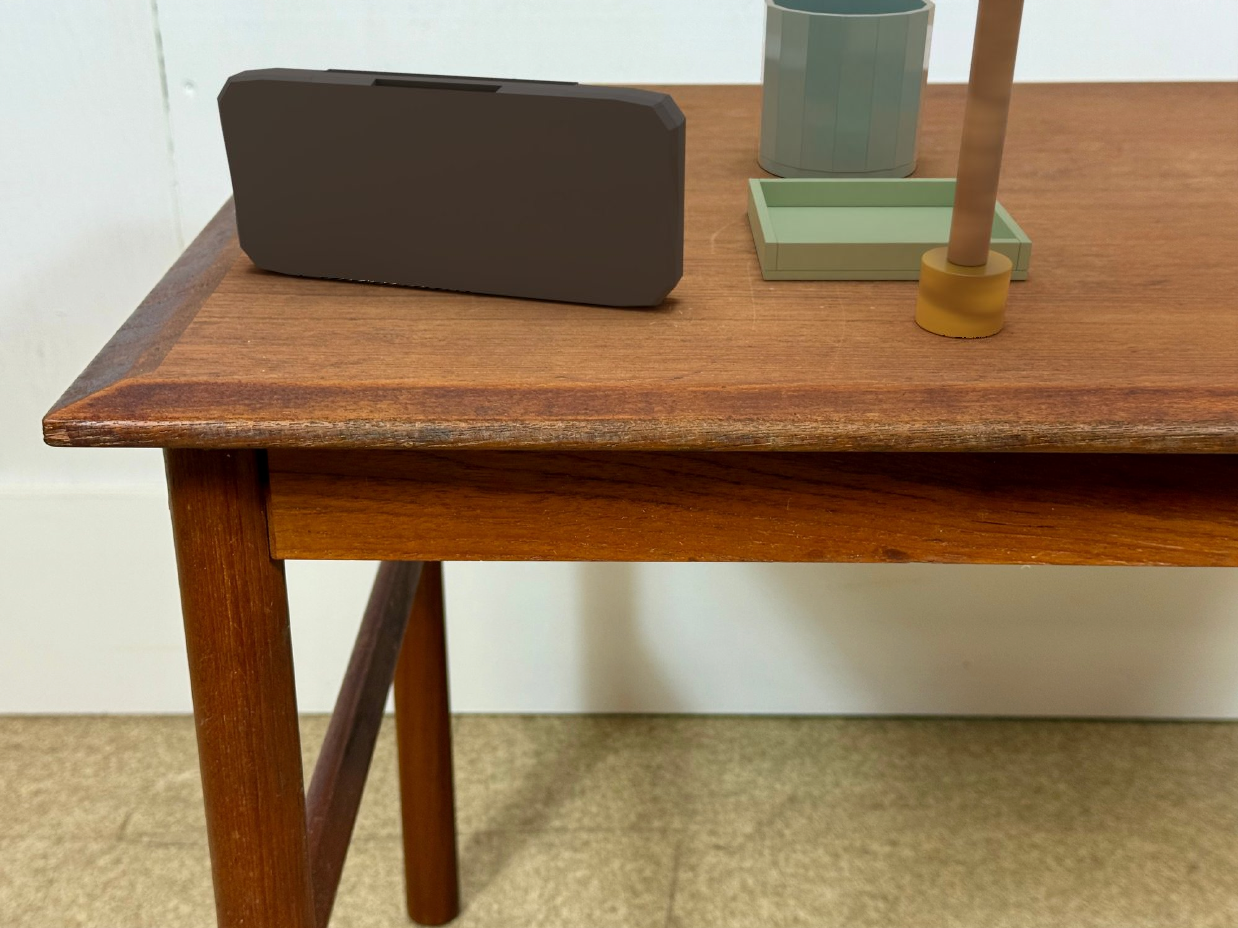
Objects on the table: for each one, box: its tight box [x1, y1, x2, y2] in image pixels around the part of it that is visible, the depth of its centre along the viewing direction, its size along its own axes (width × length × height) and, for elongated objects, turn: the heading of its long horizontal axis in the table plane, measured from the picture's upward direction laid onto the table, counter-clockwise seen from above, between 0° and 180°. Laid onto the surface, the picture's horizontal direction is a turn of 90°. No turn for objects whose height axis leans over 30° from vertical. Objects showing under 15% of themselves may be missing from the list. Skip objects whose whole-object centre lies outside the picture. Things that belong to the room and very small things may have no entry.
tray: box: [746, 177, 1033, 281], centre depth 68 cm, size 13×11×2 cm
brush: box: [914, 0, 1025, 339], centre depth 55 cm, size 4×4×18 cm
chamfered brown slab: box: [216, 67, 687, 307], centre depth 61 cm, size 23×3×10 cm, turn 75°
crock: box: [757, 0, 936, 179], centre depth 80 cm, size 10×10×10 cm
